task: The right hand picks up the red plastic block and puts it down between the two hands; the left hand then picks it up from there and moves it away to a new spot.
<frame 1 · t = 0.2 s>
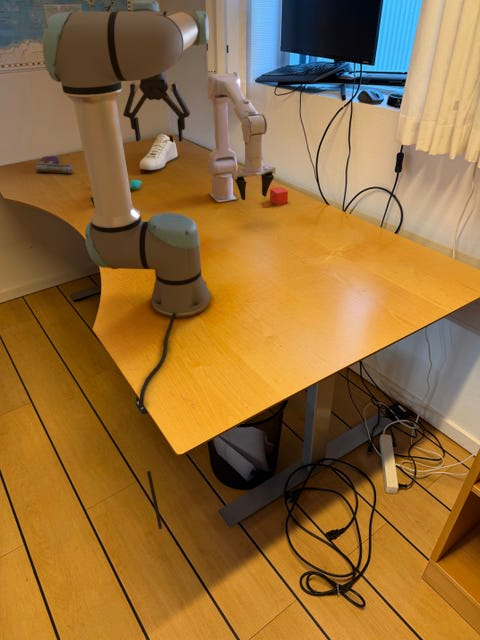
left hand: (159, 140, 150), 28 cm above the table, tool pointing down, fingers open, 13 cm apart
right hand: (253, 197, 158), 10 cm above the table, tool pointing down, fingers open, 7 cm apart
toy gun 2: (108, 195, 187), on the table
block: (278, 202, 180), on the table
sneaker: (158, 164, 218), on the table
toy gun: (59, 169, 214), on the table
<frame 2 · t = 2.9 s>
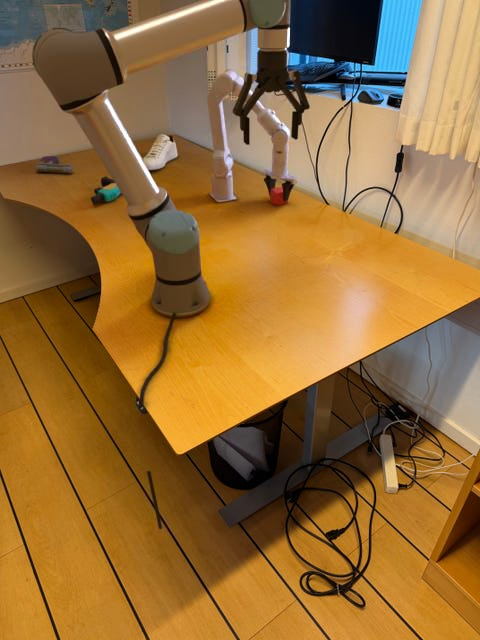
left hand: (270, 140, 126), 34 cm above the table, tool pointing down, fingers open, 13 cm apart
right hand: (278, 198, 179), 2 cm above the table, tool pointing down, fingers closed on block, 6 cm apart
block: (278, 202, 180), on the table, touching right hand
everything else where it was.
when the right hand's fingers open (2 cm above the table, at t = 7.8 s): block stays where it is, on the table.
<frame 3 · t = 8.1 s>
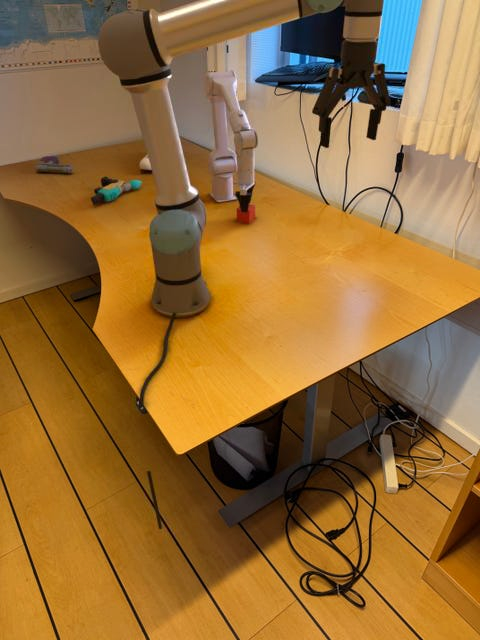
left hand: (348, 142, 113), 37 cm above the table, tool pointing down, fingers open, 13 cm apart
right hand: (245, 207, 165), 5 cm above the table, tool pointing down, fingers open, 7 cm apart
block: (246, 219, 167), on the table
everything else where it was.
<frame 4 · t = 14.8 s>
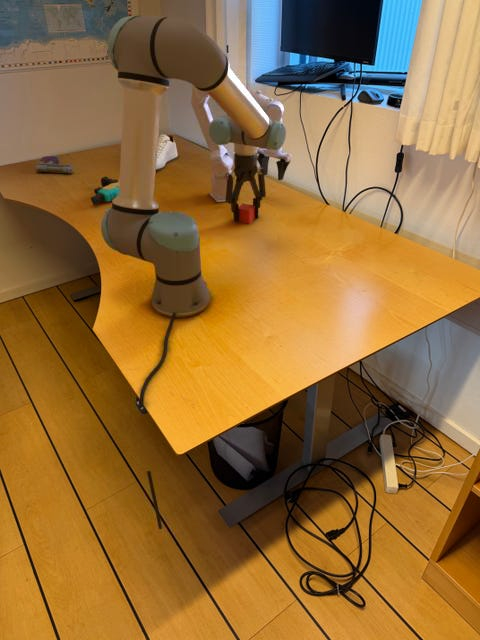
left hand: (246, 218, 167), 0 cm above the table, tool pointing down, fingers closed on block, 7 cm apart
right hand: (272, 177, 175), 9 cm above the table, tool pointing down, fingers open, 7 cm apart
block: (246, 219, 167), on the table, touching left hand
everything else where it was.
when the left hand's fingers open (1 cm above the table, at t = 20.5 s): block stays where it is, on the table.
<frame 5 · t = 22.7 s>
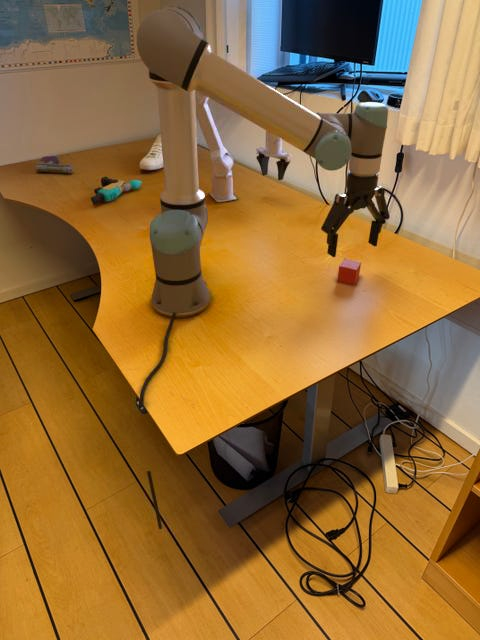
left hand: (352, 249, 129), 9 cm above the table, tool pointing down, fingers open, 13 cm apart
right hand: (272, 177, 175), 9 cm above the table, tool pointing down, fingers open, 7 cm apart
block: (348, 278, 134), on the table
everything else where it was.
at the end: block inside the target area (0.1 cm from its centre), on the table; block tilted 0°; the two hands never held the block at the same time; the left hand is holding nothing; the right hand is holding nothing; block at rest at the end (0.0 cm/s) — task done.
